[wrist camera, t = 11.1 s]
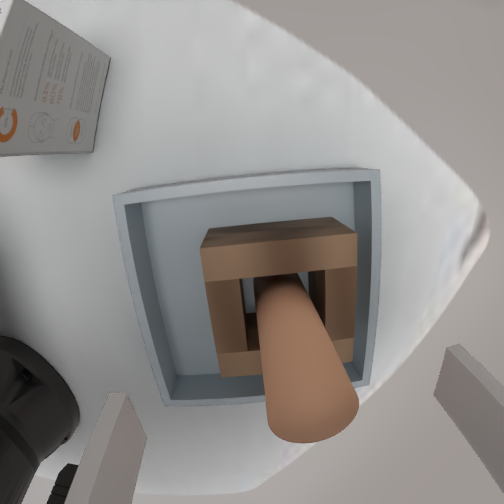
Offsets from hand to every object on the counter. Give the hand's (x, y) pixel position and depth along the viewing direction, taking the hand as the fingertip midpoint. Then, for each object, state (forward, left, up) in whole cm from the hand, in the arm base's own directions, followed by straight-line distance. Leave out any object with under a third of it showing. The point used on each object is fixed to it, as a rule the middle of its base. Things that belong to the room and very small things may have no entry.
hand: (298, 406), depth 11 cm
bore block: (0, 0, -14) cm, 14 cm away
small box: (-15, +16, -14) cm, 26 cm away
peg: (0, 0, -13) cm, 13 cm away
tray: (-1, -1, -14) cm, 14 cm away
